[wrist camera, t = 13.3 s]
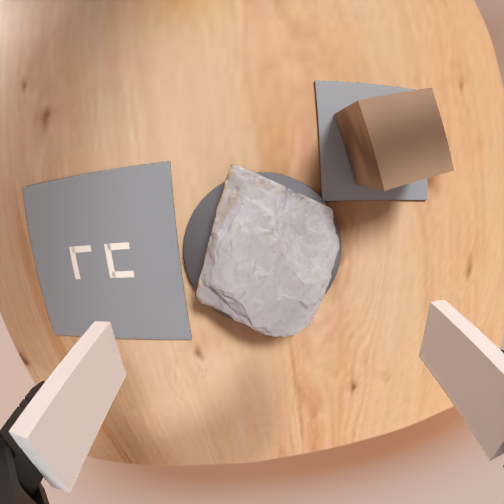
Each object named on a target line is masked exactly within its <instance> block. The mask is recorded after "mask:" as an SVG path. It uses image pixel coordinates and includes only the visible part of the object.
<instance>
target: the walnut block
mask: <svg viewBox="0 0 504 504" xmlns="http://www.w3.org/2000/svg"><path fill="white" fill-rule="evenodd" d="M334 116H335V119H336V122H337V125H338V128H339V131H340V134H341V137H342V140H343V143H344V146H345V150H346V153H347V156H348V160H349V163H350V167H351V170H352V174H353V177H354V181H355V184H356V185H361V186H366V187H370V188H374V189H379V190H383V191H386V190H389V189H392V188H396V187H399V186H402V185H406V184H409V183H412V182H416V181H419V180H423V179H426V178H429V177H433V176H436V175H440V174H443V173H447V172H450V171H453V170H454V169H453V164H452V159H451V155H450V151H449V146H448V142H447V138H446V134H445V131H444V127H443V123H442V120H441V116H440V113H439V110H438V106H437V103H436V100H435V97H434V94H433V91H432V88H427V89H420V90H413V91H406V92H400V93H394V94H388V95H383V96H378V97H372V98H367V99H362V100H358V101H356V102H354V103H352V104H351V105H349V106H347V107H345V108H344V109H342V110H340V111H339V112H337V113H335V114H334Z"/></svg>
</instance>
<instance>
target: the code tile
mask: <svg viewBox="0 0 504 504" xmlns="http://www.w3.org/2000/svg"><path fill="white" fill-rule="evenodd" d="M23 195H24V203H25V211H26V218H27V224H28V230H29V236H30V242H31V247H32V252H33V257H34V262H35V266H36V270H37V275H38V279H39V283H40V287H41V291H42V294H43V298H44V302H45V305H46V308H47V312H48V315H49V318H50V322H51V325H52V328H53V331H54V334H55V335H67V336H81V337H82V336H83V335H84V333H85V332H86V331H87V330H88V329H89V327H90V326H91V325H92V324H93V323H94V322H95V321H105V322H111V326H112V329H113V333H114V336H115V338H120V339H167V340H183V339H192V337H191V331H190V325H189V319H188V312H187V306H186V299H185V292H184V285H183V278H182V271H181V263H180V255H179V247H178V239H177V230H176V220H175V211H174V200H173V189H172V178H171V165H170V161H167V162H159V163H151V164H144V165H137V166H130V167H123V168H117V169H111V170H105V171H99V172H93V173H88V174H83V175H77V176H72V177H67V178H63V179H58V180H53V181H49V182H44V183H40V184H35V185H31V186H27V187H23Z"/></svg>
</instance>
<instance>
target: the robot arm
mask: <svg viewBox="0 0 504 504" xmlns="http://www.w3.org/2000/svg"><path fill="white" fill-rule="evenodd" d="M419 357H420V358H421V360H422V361H423V362H424V364H425V365H426V366H427V368H428V369H429V371H430V372H431V373H432V375H433V376H434V377H435V379H436V380H437V382H438V383H439V384H440V386H441V387H442V389H443V390H444V392H445V393H446V394H447V396H448V397H449V399H450V400H451V402H452V403H453V404H454V406H455V407H456V409H457V410H458V412H459V413H460V415H461V416H462V418H463V419H464V421H465V422H466V424H467V425H468V427H469V428H470V430H471V431H472V433H473V434H474V436H475V437H476V439H477V441H478V442H479V444H480V445H481V447H482V449H483V450H484V452H485V453H486V455H487V457H488V458H489V460H492V459H494V458H496V457H498V456H500V455H502V454H504V351H503V350H500V349H499V348H498V347H497V346H495V345H494V344H493V343H492V342H491V341H490V340H489V339H488V338H487V337H486V336H485V335H484V334H483V333H482V332H480V331H479V330H478V329H477V328H476V327H475V326H474V325H473V324H472V323H470V322H469V321H468V320H467V319H466V318H465V317H464V316H463V315H461V314H460V313H459V312H458V311H457V310H456V309H455V308H453V307H452V306H451V305H450V304H449V303H448V302H446V301H445V300H440V301H434V302H430V307H429V312H428V318H427V322H426V327H425V332H424V336H423V341H422V345H421V349H420V353H419ZM126 375H127V374H126V372H125V369H124V366H123V362H122V359H121V356H120V353H119V350H118V346H117V343H116V340H115V336H114V333H113V329H112V326H111V322H105V321H95V322H94V323H93V324H92V325H91V326H90V327H89V329H88V330H87V331H86V332H85V333H84V335H83V336H82V337H81V338H80V339H79V340H78V342H77V343H76V344H75V345H74V347H73V348H72V349H71V350H70V351H69V353H68V354H67V355H66V356H65V358H64V359H63V360H62V361H61V362H60V364H59V365H58V366H57V367H56V369H55V370H54V371H53V373H52V374H51V375H50V376H49V378H48V379H47V380H46V381H42V382H40V383H39V384H37V385H36V386H35V387H33V388H32V389H31V390H30V392H29V393H28V394H27V395H26V397H25V399H23V401H22V402H21V403H20V406H19V407H17V409H16V410H15V411H14V412H13V414H12V415H11V416H10V418H9V419H8V420H7V422H6V423H5V425H4V426H3V427H2V429H1V430H0V504H49V502H48V499H47V496H46V493H45V489H44V488H43V486H42V484H41V483H40V482H41V481H42V478H43V477H44V478H45V479H46V480H47V482H48V483H49V484H50V485H51V486H52V487H54V488H57V489H60V490H63V491H66V492H69V493H71V490H72V488H73V486H74V483H75V481H76V479H77V476H78V475H79V472H80V470H81V468H82V465H83V463H84V461H85V459H86V457H87V455H88V453H89V450H90V448H91V446H92V444H93V442H94V440H95V438H96V436H97V433H98V431H99V429H100V427H101V425H102V423H103V421H104V419H105V417H106V415H107V413H108V411H109V409H110V407H111V405H112V403H113V401H114V399H115V397H116V395H117V393H118V391H119V389H120V387H121V385H122V383H123V381H124V379H125V377H126ZM503 467H504V466H503Z"/></svg>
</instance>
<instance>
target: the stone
mask: <svg viewBox="0 0 504 504" xmlns="http://www.w3.org/2000/svg"><path fill="white" fill-rule="evenodd" d="M333 216H334V215H333V209H331V208H330V207H328V206H326V205H323V204H321V203H319V202H317V201H315V200H313V199H310V198H308V197H306V196H305V195H302V194H300V193H298V192H296V191H293V190H291V189H289V188H287V187H285V186H283V185H281V184H279V183H276V182H274V181H272V180H270V179H267V178H265V177H263V176H261V175H259V174H256V173H254V172H252V171H249V170H247V169H244V168H242V167H240V166H237V165H231V167H230V170H229V172H228V175H227V178H226V181H225V184H224V188H223V191H222V194H221V197H220V200H219V204H218V206H217V210H216V216H215V220H214V224H213V227H212V231H211V236H210V238H209V242H208V246H207V250H206V254H205V259H204V264H203V267H202V271H201V274H200V278H199V281H198V288H197V291H196V299H197V300H198V301H199V302H200V303H201V304H202V305H208V306H211V307H213V308H215V309H218V310H221V311H223V312H225V313H227V314H228V315H230V316H231V317H232V318H233V319H234V320H235V321H237V322H240V323H242V324H245V325H247V326H249V327H251V328H252V329H254V330H256V331H258V332H260V333H261V334H264V335H269V336H273V337H278V336H281V337H288V336H293V335H294V334H297V333H299V332H300V331H302V330H303V329H305V328H307V327H308V326H309V325H310V323H311V321H312V318H313V316H314V315H315V313H316V311H317V309H318V307H319V305H320V303H321V302H322V300H323V297H324V295H325V292H326V289H327V286H328V284H329V281H330V279H331V277H332V276H331V271H332V269H333V267H334V263H335V259H336V256H337V253H338V250H339V239H338V236H337V234H336V230H335V226H334V223H333Z"/></svg>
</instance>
